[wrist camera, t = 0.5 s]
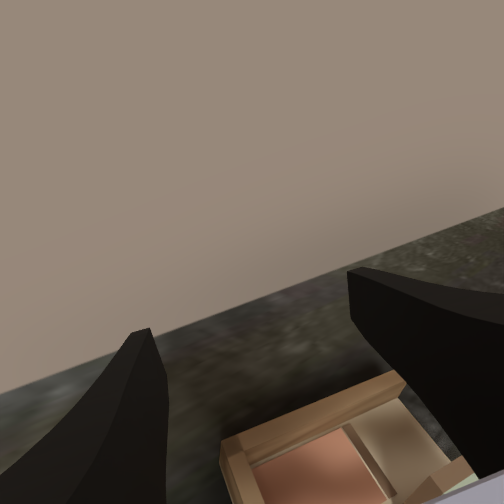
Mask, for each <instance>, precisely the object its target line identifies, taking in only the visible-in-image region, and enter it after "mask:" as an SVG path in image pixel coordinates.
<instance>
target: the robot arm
mask: <svg viewBox="0 0 504 504" xmlns="http://www.w3.org/2000/svg"><path fill="white" fill-rule="evenodd" d="M347 279H348V291H349V304H350V316H351V319H352V321H353V322H354V324H355V325H356V327H357V328H358V330H359V331H360V332H361V334H362V335H363V337H364V338H365V339H366V340H367V341H368V343H369V344H370V345H371V346H372V347H373V348H374V349H375V350H376V351H377V352H378V353H379V354H380V355H381V357H382V358H383V359H384V360H385V361H386V362H387V363H388V364H389V365H390V366H391V367H392V368H393V369H394V370H395V371H396V372H397V373H398V374H399V375H400V376H401V378H402V379H403V380H404V381H405V382H406V383H407V384H408V385H409V386H410V387H411V388H412V390H413V391H414V392H415V393H416V394H417V395H418V396H419V398H420V399H421V400H422V402H423V403H424V404H425V406H426V407H427V408H428V409H429V411H430V412H431V413H432V415H433V416H434V417H435V418H436V420H437V421H438V422H439V424H440V425H441V427H442V428H443V429H444V431H445V432H446V433H447V435H448V436H449V437H450V439H451V440H452V442H453V443H454V444H455V446H456V447H457V448H458V450H459V451H460V453H461V454H462V456H463V457H464V459H465V460H466V461H467V463H468V464H469V466H470V467H471V469H472V470H473V472H474V473H475V474H476V476H477V477H478V479H479V480H477V481H475V482H473V483H470V484H468V485H465V486H463V487H461V488H458V489H456V490H453V491H451V492H448V493H446V494H444V495H441V496H439V497H436V498H434V499H432V500H429V501H427V502H424V503H422V504H504V294H497V293H487V292H480V291H472V290H465V289H459V288H453V287H448V286H443V285H438V284H433V283H428V282H424V281H420V280H416V279H411V278H408V277H404V276H400V275H396V274H392V273H388V272H384V271H380V270H376V269H371V268H366V267H360V268H357V269H353V270H350V271H347ZM168 414H169V396H168V384H167V374H166V372H165V369H164V366H163V363H162V360H161V358H160V355H159V352H158V349H157V347H156V344H155V341H154V338H153V335H152V333H151V330H150V328H146V329H143V330H139V331H136V332H132V333H131V334H130V335H129V336H128V338H127V339H126V340H125V342H124V343H123V345H122V346H121V348H120V349H119V350H118V352H117V353H116V355H115V356H114V357H113V359H112V360H111V361H110V363H109V364H108V365H107V367H106V368H105V370H104V371H103V372H102V374H101V375H100V376H99V377H98V379H97V380H96V381H95V382H94V383H93V385H92V386H91V387H90V388H89V390H88V391H87V392H86V393H85V394H84V396H83V397H82V398H81V399H80V400H79V402H78V403H77V404H76V405H75V406H74V407H73V408H72V409H71V410H70V411H69V412H68V413H67V415H66V416H65V417H64V418H63V419H62V420H61V421H60V422H59V423H58V424H57V425H56V426H55V427H54V428H53V429H52V430H51V431H50V432H49V433H48V434H46V435H45V436H44V437H43V438H42V439H41V440H40V441H39V442H38V443H37V444H35V445H34V446H33V447H32V448H31V449H30V450H29V451H28V452H27V453H26V454H25V455H23V456H22V457H21V458H20V459H19V460H18V461H17V462H15V463H14V464H13V465H12V466H11V467H9V468H8V469H7V470H6V471H5V472H3V473H2V474H1V475H0V504H166V453H167V434H168Z"/></svg>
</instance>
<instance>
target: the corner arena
mask: <svg viewBox="0 0 504 504" xmlns="http://www.w3.org/2000/svg"><path fill="white" fill-rule="evenodd" d="M405 385H406V382H405V381H404V380H403V379H402V378H401V376H400V375H399V374H398V373H397V372H396V371H395V370H392V371H389V372H387V373H384V374H382V375H380V376H377V377H375V378H372V379H370V380H368V381H365V382H363V383H360V384H358V385H355V386H353V387H351V388H348V389H346V390H343V391H341V392H338V393H336V394H334V395H331V396H329V397H326V398H324V399H321V400H319V401H317V402H314V403H312V404H309V405H307V406H304V407H302V408H300V409H297V410H295V411H292V412H290V413H288V414H285V415H283V416H280V417H278V418H275V419H273V420H271V421H268V422H266V423H263V424H261V425H258V426H256V427H254V428H251V429H249V430H246V431H244V432H241V433H239V434H237V435H234V436H232V437H229V438H227V439H224V440H222V441H221V448H220V459H219V465H220V468H221V471H222V474H223V477H224V479H225V482H226V485H227V488H228V491H229V494H230V497H231V500H232V503H233V504H403V503H404V502H405V501H406V499H407V498H408V497H409V496H410V495H411V494H412V493H413V492H414V491H415V490H416V489H417V488H418V487H419V486H420V485H421V484H422V483H423V482H424V481H425V480H426V479H427V477H428V476H429V475H431V474H432V473H434V472H436V471H437V470H439V469H441V468H442V467H444V466H445V465H447V464H449V463H450V462H451V461H450V460H449V459H448V458H447V457H446V455H445V454H444V453H443V452H442V451H441V449H440V448H439V447H438V446H437V445H436V443H435V442H434V441H433V440H432V439H431V437H430V436H429V435H428V434H427V433H426V431H425V430H424V429H423V428H422V427H421V425H420V424H419V423H418V422H417V420H416V419H415V418H414V417H413V416H412V414H411V413H410V412H409V411H408V410H407V408H406V407H405V406H404V405H403V404H402V402H401V401H400V400H399V399H398V396H399V395H400V393H401V391H402V390H403V388H404V387H405Z"/></svg>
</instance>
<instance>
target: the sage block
mask: <svg viewBox="0 0 504 504" xmlns="http://www.w3.org/2000/svg"><path fill="white" fill-rule="evenodd" d="M477 480H479V479H478V477H477V476H476V474H475V473H474V472H473V470H472V469H471V467H470V466H469V464H468V463H467V461H466V460H465V459H464V457H463V456H460V457H458V458H457V459H455V460H454V461H452V462H450V463H449V464H447V465H445V466H444V467H442V468H441V469H439V470H437V471H436V472H434V473H432V474H431V475H429V476H428V477H427V479H426V480H425V481H424V482H423V483H422V484H421V485H420V486H419V487H418V488H417V489H416V490H415V491H414V492H413V493H412V494H411V495H410V496H409V497H408V498H407V499H406V501H405V502H404V503H403V504H422V503H424V502H427V501H429V500H432V499H434V498H436V497H439V496H441V495H444V494H446V493H448V492H451V491H453V490H456V489H458V488H461V487H463V486H465V485H468V484H470V483H473V482H475V481H477Z"/></svg>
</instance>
